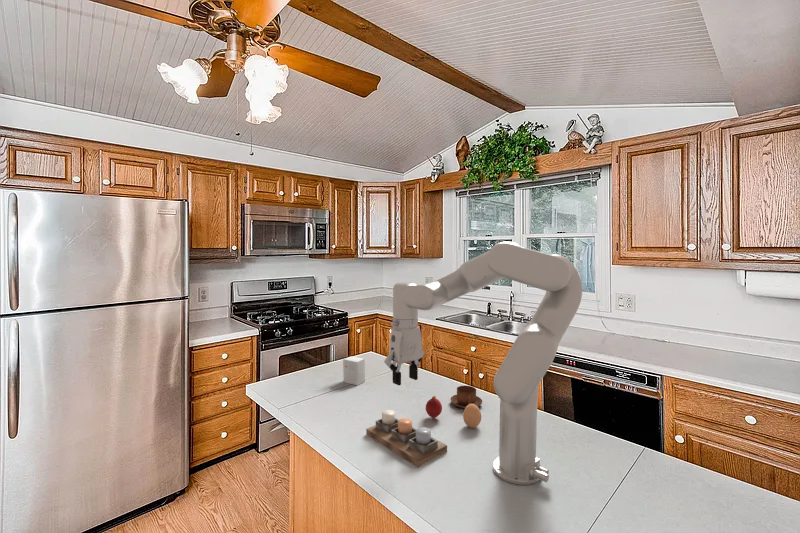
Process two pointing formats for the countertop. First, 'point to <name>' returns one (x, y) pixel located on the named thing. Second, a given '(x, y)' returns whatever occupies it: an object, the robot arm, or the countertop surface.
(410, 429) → the terracotta button
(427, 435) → the grey button
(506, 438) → the robot arm
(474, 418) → the egg
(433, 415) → the red fruit
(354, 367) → the small box
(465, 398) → the cup and saucer
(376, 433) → the button board
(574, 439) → the countertop surface
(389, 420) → the cream button
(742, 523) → the countertop surface
